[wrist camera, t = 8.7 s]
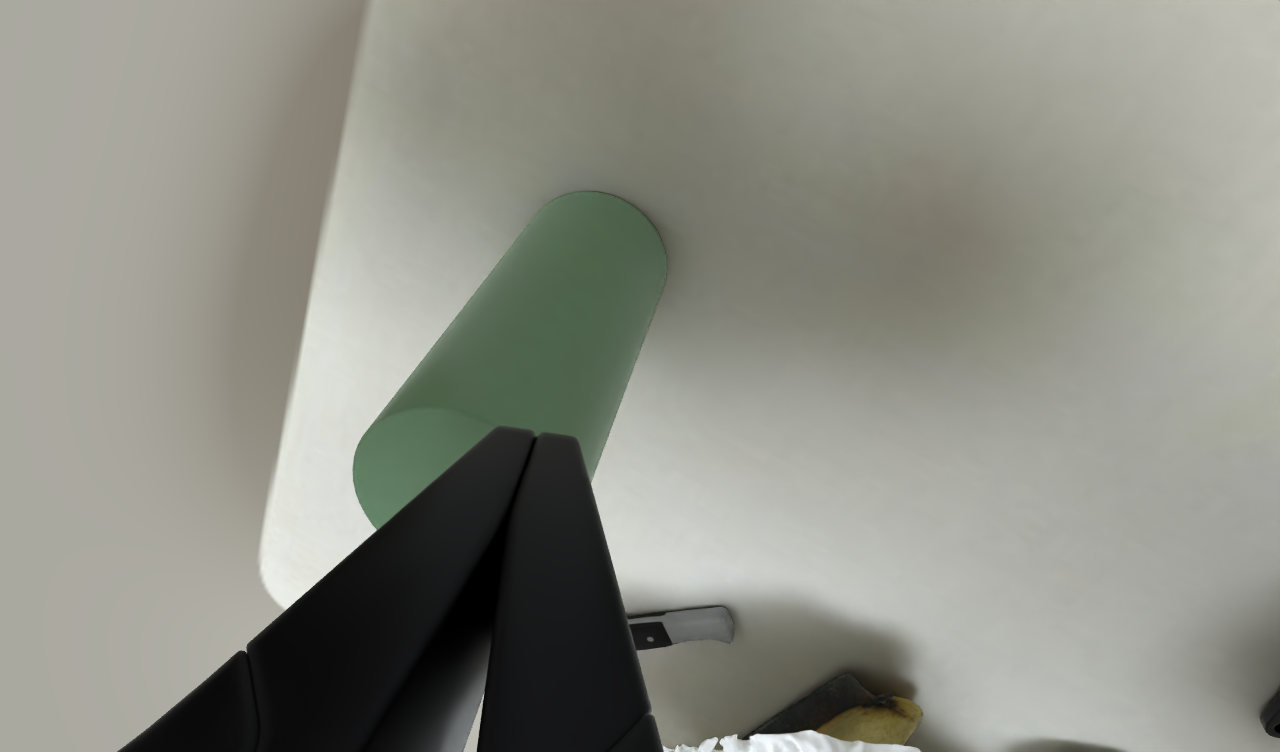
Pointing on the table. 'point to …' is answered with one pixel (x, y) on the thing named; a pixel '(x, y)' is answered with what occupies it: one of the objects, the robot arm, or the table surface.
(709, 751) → the figurine
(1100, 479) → the table surface
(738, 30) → the table surface
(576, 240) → the green peg
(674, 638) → the knife
